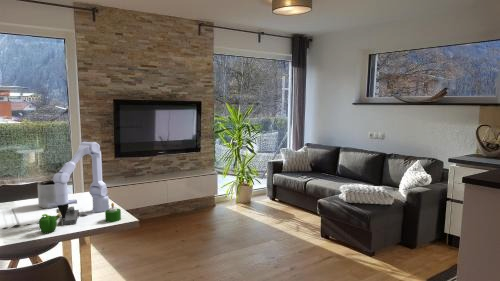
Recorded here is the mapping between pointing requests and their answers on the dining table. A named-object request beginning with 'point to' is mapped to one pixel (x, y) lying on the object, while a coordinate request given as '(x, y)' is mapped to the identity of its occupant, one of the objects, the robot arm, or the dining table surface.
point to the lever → (67, 210)
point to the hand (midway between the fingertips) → (63, 217)
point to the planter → (46, 193)
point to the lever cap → (58, 215)
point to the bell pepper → (47, 223)
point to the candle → (113, 214)
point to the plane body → (70, 218)
